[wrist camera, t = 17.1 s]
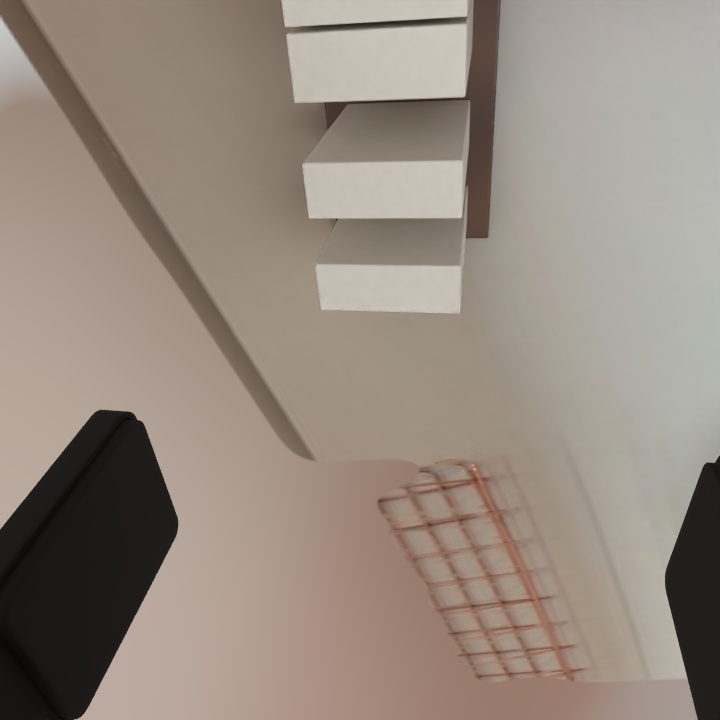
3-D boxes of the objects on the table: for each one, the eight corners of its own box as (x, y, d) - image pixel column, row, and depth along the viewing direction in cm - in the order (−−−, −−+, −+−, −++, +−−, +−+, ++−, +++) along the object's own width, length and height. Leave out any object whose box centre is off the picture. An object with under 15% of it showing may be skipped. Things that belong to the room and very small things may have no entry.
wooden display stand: (312, -85, 29) (233, -86, 20) (505, -103, 28) (512, -112, 19) (341, 229, 38) (296, 324, 30) (488, 230, 37) (487, 330, 28)
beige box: (347, 103, 33) (301, 163, 25) (470, 99, 32) (463, 160, 24) (350, 149, 34) (308, 219, 26) (468, 146, 33) (462, 219, 25)
